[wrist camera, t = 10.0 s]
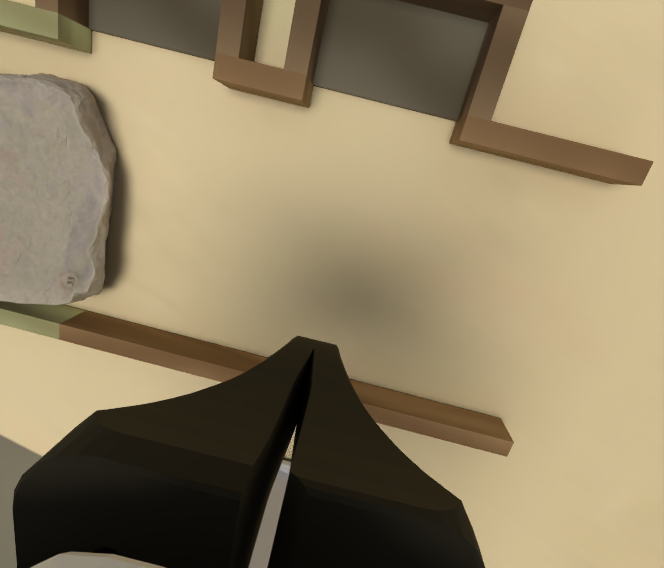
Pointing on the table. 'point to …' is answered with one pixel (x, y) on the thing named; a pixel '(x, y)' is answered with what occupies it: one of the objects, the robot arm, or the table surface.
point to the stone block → (52, 190)
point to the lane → (296, 88)
